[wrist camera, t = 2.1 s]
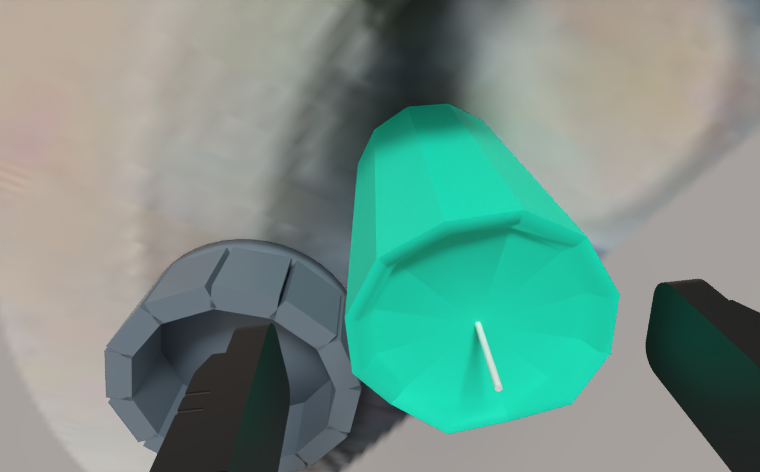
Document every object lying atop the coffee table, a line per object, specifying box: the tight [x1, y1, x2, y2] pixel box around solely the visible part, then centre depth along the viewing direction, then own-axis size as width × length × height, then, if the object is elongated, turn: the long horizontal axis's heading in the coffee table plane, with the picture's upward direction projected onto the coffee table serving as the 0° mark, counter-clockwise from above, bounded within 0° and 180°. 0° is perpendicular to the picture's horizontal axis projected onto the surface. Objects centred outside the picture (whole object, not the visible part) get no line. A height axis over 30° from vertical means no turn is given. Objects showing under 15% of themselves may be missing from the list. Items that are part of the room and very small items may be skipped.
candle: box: [345, 103, 620, 434], centre depth 14 cm, size 6×6×12 cm
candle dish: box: [104, 239, 361, 472], centre depth 21 cm, size 10×10×4 cm
